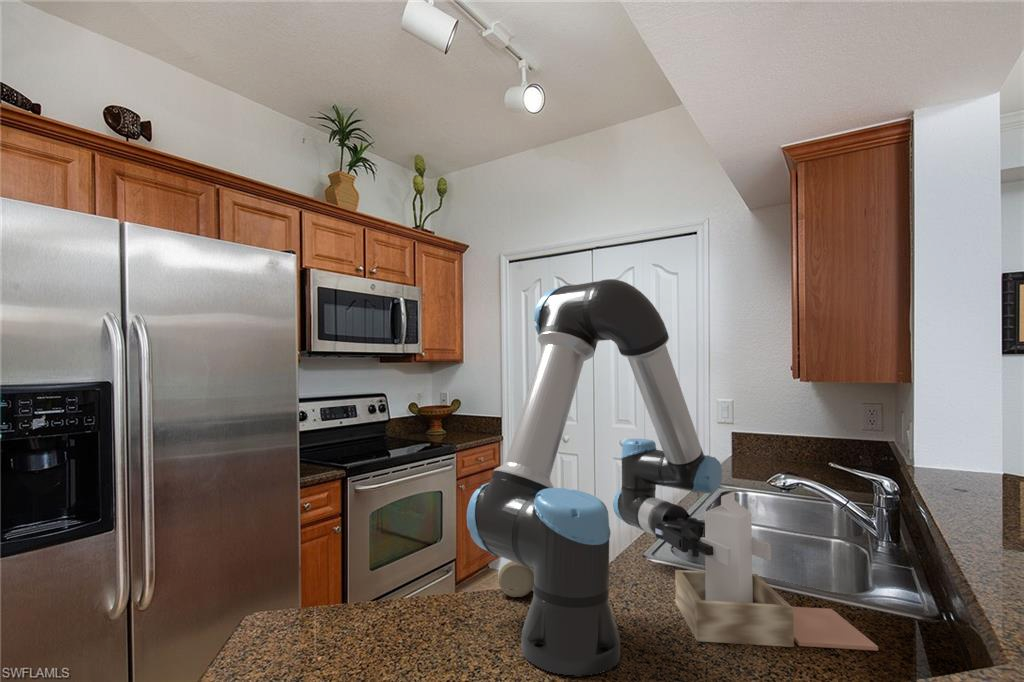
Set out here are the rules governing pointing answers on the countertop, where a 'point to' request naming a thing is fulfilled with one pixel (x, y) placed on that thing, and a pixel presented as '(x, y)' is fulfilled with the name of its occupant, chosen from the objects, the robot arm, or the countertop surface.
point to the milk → (735, 532)
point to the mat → (827, 630)
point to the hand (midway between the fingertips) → (749, 554)
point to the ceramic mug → (515, 578)
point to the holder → (734, 613)
